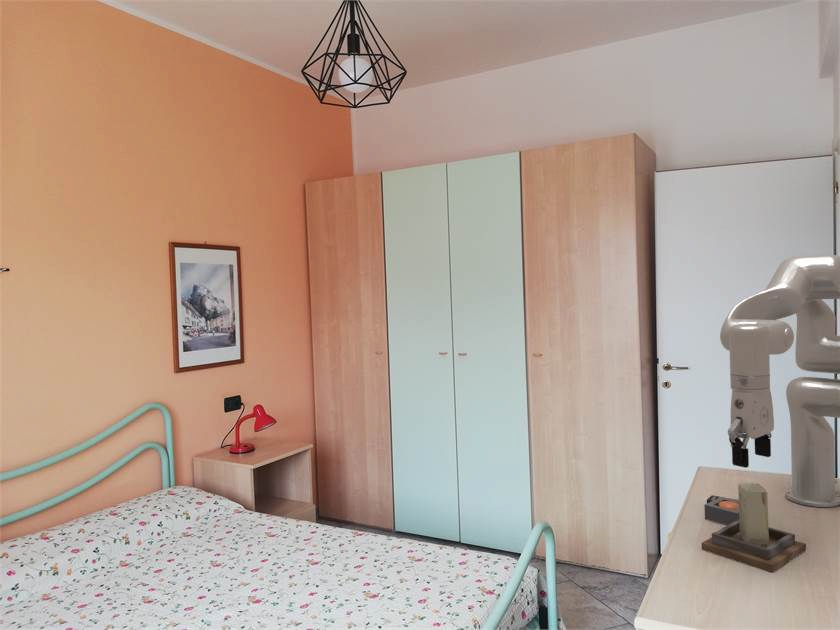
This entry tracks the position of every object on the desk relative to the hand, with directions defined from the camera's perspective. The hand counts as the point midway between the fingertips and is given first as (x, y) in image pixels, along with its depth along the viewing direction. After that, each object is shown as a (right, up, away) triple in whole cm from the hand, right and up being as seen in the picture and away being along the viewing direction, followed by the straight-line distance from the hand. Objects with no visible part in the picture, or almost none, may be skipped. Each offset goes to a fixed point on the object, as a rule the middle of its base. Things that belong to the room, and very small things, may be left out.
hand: (751, 460), depth 139 cm
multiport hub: (+7, -18, +25) cm, 32 cm away
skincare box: (+1, -18, +1) cm, 18 cm away
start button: (+4, -17, +18) cm, 25 cm away
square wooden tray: (+1, -20, +1) cm, 20 cm away
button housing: (+4, -18, +18) cm, 26 cm away
